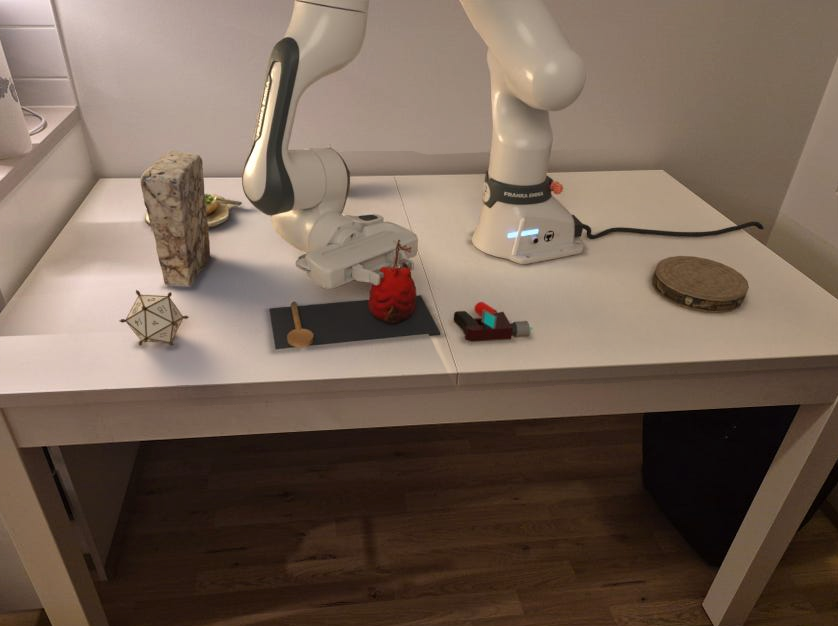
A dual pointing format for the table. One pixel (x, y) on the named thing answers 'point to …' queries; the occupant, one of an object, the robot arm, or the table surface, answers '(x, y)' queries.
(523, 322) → the toy gun
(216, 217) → the salad plate
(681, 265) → the wood slice
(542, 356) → the table surface
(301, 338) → the spoon
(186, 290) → the table surface
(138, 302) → the game die
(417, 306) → the placemat
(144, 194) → the stone block
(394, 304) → the red clay folk toy
